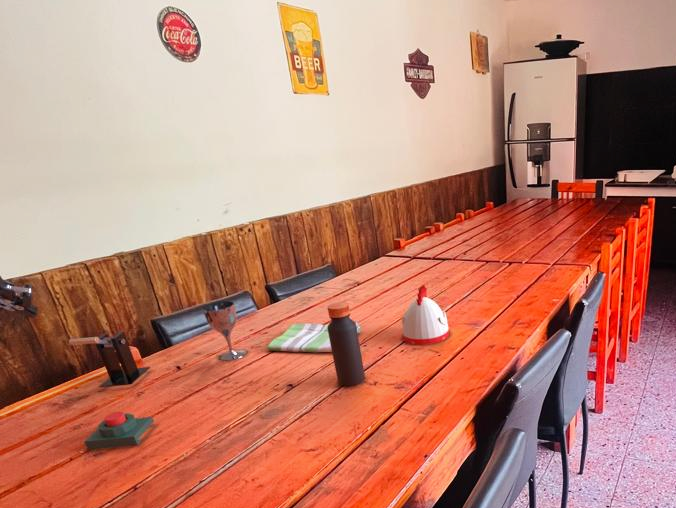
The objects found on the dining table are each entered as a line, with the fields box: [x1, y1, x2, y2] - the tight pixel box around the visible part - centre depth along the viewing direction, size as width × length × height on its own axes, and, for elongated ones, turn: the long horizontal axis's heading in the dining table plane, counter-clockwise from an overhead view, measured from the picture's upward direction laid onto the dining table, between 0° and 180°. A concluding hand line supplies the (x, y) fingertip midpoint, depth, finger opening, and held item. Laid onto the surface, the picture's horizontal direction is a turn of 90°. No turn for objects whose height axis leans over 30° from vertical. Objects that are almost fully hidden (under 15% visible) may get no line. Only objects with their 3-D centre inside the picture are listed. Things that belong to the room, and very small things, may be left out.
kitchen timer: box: [401, 284, 450, 346], centre depth 150 cm, size 14×14×15 cm
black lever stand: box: [95, 331, 150, 388], centre depth 133 cm, size 10×8×13 cm
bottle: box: [327, 301, 366, 387], centre depth 124 cm, size 7×7×20 cm
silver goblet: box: [202, 300, 247, 361], centre depth 144 cm, size 8×8×15 cm
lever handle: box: [68, 336, 114, 348], centre depth 127 cm, size 12×6×2 cm, turn 6°
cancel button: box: [103, 411, 126, 427], centre depth 108 cm, size 4×4×2 cm
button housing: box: [83, 413, 155, 451], centre depth 109 cm, size 10×8×4 cm
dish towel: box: [266, 321, 362, 353], centre depth 153 cm, size 17×23×4 cm
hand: (33, 313), depth 107 cm, fingers closed
